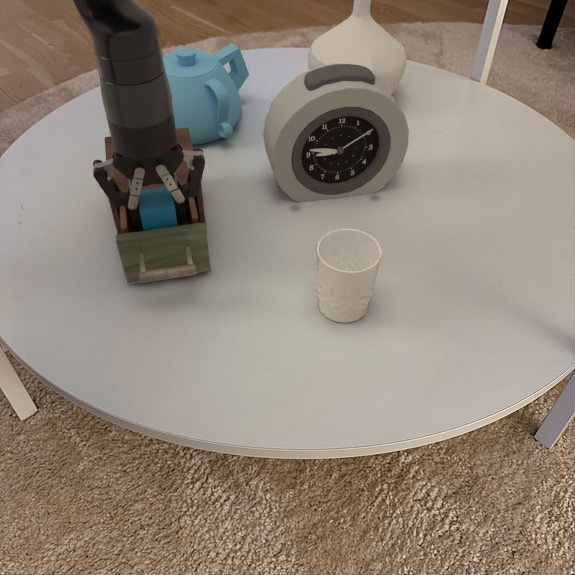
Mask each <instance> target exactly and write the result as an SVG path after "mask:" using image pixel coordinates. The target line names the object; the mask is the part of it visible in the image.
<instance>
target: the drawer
mask: <svg viewBox="0 0 575 575" xmlns="http://www.w3.org/2000/svg"><path fill="white" fill-rule="evenodd" d="M185 208H186V215H187V217H186V220H182V224H179V225H178V226H175V227H168V228H161V229H154V230H147V231H144V229H143V230H139V227H138V226H137V227H134V225H133V224H132V220H131V216H130V211H129V209H128V208H127V207H125V206H121V207H120V220H121V230H122V234H119V235H118V234H115V242H116V246H117V250H118V254H119V258H120V261H121V265H122V269H123V273H124V276H125V281H126V284H127V285H128V284H134V283H140V284H144V283H151V282H157V281H164V280H170V279H176V278H182V277H189V276H196V275H197V273H198V274H199V273H204V272H210V271H212V268H211V259H210V252H209V241H208V231H207V232H206V229H207V225H206V226H205V222H203V223H199V220H198V214H197V210H196V205H195V200H194V198H192V197H188V198H187V199H186V200H185Z"/></svg>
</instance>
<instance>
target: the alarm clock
mask: <svg viewBox="0 0 575 575" xmlns="http://www.w3.org/2000/svg"><path fill="white" fill-rule="evenodd" d="M406 118H407V117H406V115H405V114H404V111H403V110H402V108H401V107H400V106H399V104H398V103H397V100H396V99H395V98H394V97H393V95H392V94H391V93H390V92H389V90H388V89H387V88H386V86H385V85H384V83H383V82H382V80H381V79H380V78H378V77H377V76H376V75H374V74H373V73H372V71H371V70H370V69H368V68H367V67H364V66H360V65H354V64H329V65H325V66H320V67H315V68H313V69H311V70H309V69H308V70H307V71H305V72H302V73H301V74H299V75H297V76H296V77H295V78H294V79H292V80H291V81H290V82H288V83H287V84H286V85H285V86H284V87H283V88H281V90H280V91H279V92H278V94H277V95H276V97H275V98H274V99H273V101H272V102H271V104H270V106H269V108H268V111H267V113H266V116H265V118H264V124H263V131H262V132H263V133H262V137H263V144H264V148H265V153H266V155H267V159H268V162H269V165H270V168H271V171H272V173H273V177H274V179H275V180H276V182H277V185H278V186H279V189H280V190H281V191H283V192H284V193H285V195H287V197H289V198H290V199H291V200H292V201H295V202H296V203H305V202H313V201H314V202H315V201H321V200H329V199H335V198H336V199H337V198H345V197H353V196H359V195H361V196H362V195H367V194H376V193H378V192H379V191H380V190H382V189H383V188H384V187H385V186H386V185H387V184H388V183H389V182H390V181H391V180H392V179H393V178H394V177H395V176H396V174H397V172H398V170H399V169H400V167H401V166H402V164H403V162H404V160H405V157H406V153H407V151H408V148H409V139H410V138H409V136H410V129H409V126H408V125H409V124H408V122H407V119H406Z"/></svg>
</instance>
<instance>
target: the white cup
mask: <svg viewBox="0 0 575 575" xmlns="http://www.w3.org/2000/svg"><path fill="white" fill-rule="evenodd" d="M382 255H383V251H382V247H381V245H380V243H379V241H378V240H377V239H376V238H375V237H374V236H372V235H371V234H369V233H368V232H365V231H363V230H360V229H355V228H339V229H338V228H337V229H333V230H331V231H329V232H327V233H325V234H324V235H323V236H322V237H321V238H320V239H319V240H318V242H317V245H316V293H317V305H318V310H319V311H320V313H322V314H323V316H324V317H325V318H326V319H329V320H331V321H333V322H336V323H343V324H345V323H346V324H349V323H352V322H355V321H356V322H357V321H359V320H360V319H361V318H362V317H364V316H365V315H366V314H367V312H368V307H369V304H370V300H371V298H372V297H373V291H374V288H375V284H376V280H377V275H378V272H379V268H380V263H381V259H382Z"/></svg>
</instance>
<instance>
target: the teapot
mask: <svg viewBox="0 0 575 575" xmlns="http://www.w3.org/2000/svg"><path fill="white" fill-rule="evenodd" d="M163 60H164V66H165V71H166V75H167V78H168V81H169V85H170V91H171V95H172V105H173V112H174V119H175V126H176V129H179V128H189V132H190V136H191V141H192V145H193V146H194V145H195V146H196V145H203V144H207V143H210V142H214V141H217V140H219V139H221V138H222V139H228V138H231V137H232V136H233V134H234V127H235V125H236V124H237V123H238V122H239V121H240V117H241V116H242V110H243V109H242V101H241V96H240V94H239V91H240V89H241V88H242V86H243V85H244V83H245V82H246V80H247V78H249V76H250V73H249V70H248V67H247V65H246V62H245V58H244V56H243V54H242V51H241V48H240V47H238V46H237V45H235V44H234V43H230V44H228V45H226V46H224V47H222V48H221V49H219V50H217V51H215V52H214V53H210V52H207V51H204V50H201V49H197V48H195V47H192V46H181V47H178V48H176V49H175V50H174V51H171V52H168V53H166V54H163ZM226 64H228V65H229V68H230V71H229V72H228V70H226V68H225V67H224V66H225V65H226Z"/></svg>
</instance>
